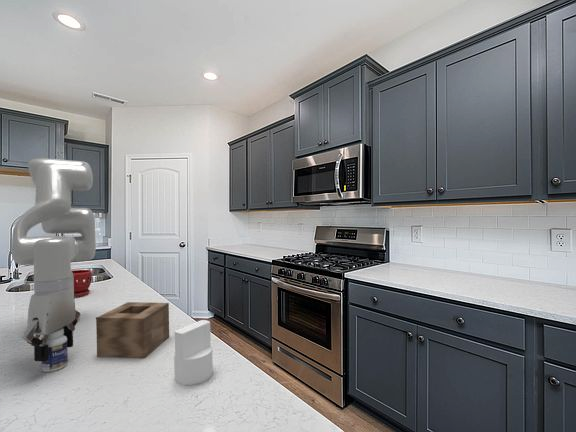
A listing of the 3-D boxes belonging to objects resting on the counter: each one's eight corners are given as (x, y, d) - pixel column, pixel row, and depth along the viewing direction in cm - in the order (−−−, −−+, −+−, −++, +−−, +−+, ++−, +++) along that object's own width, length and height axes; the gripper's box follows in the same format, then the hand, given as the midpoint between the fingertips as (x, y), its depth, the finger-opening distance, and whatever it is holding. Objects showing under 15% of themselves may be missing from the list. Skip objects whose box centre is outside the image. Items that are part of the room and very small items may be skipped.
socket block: (97, 356, 82) (96, 317, 82) (128, 335, 96) (127, 302, 96) (144, 358, 81) (143, 318, 81) (169, 336, 95) (168, 302, 95)
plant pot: (80, 299, 138) (79, 273, 138) (52, 299, 138) (51, 274, 138) (98, 291, 151) (97, 268, 151) (73, 291, 151) (72, 268, 151)
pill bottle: (53, 373, 73) (52, 335, 73) (36, 371, 75) (35, 333, 74) (73, 362, 79) (72, 327, 79) (56, 361, 80) (55, 325, 80)
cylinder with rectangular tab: (191, 389, 66) (190, 337, 66) (166, 378, 71) (165, 329, 71) (220, 370, 74) (219, 323, 74) (196, 361, 79) (195, 317, 79)
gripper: (67, 278, 85) (68, 338, 86) (5, 295, 68) (7, 371, 68) (91, 278, 85) (93, 339, 85) (35, 295, 67) (36, 372, 68)
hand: (54, 352), depth 77 cm, fingers open, 6 cm apart
